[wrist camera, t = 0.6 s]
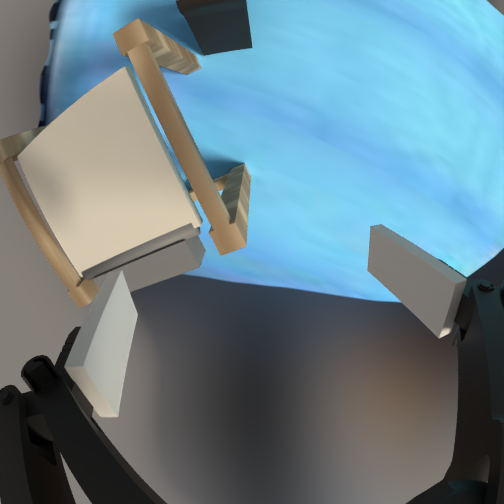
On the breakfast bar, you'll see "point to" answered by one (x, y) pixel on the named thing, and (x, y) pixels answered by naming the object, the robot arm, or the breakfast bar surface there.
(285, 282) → the breakfast bar surface
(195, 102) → the breakfast bar surface
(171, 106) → the trapdoor frame
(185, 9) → the phone stand
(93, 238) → the trapdoor
